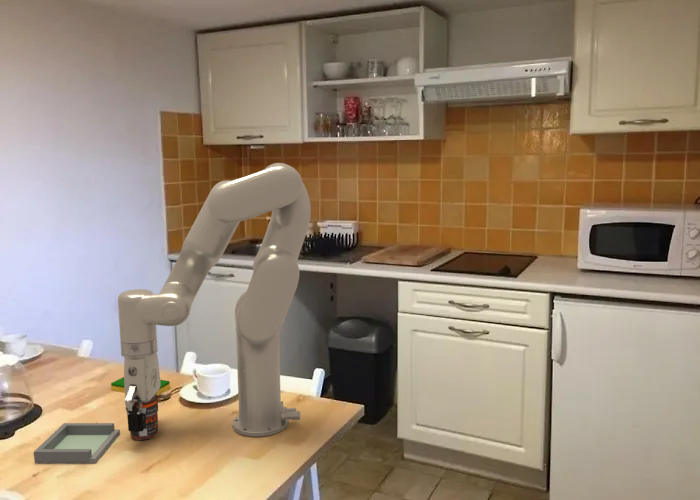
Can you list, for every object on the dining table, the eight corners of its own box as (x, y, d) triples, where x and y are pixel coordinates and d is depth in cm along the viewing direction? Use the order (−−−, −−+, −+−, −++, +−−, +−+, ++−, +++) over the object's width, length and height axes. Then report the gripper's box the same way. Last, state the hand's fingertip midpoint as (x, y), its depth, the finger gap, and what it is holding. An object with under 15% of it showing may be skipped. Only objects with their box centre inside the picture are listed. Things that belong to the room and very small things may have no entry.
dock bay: (120, 433, 142) (119, 423, 141) (95, 463, 128) (94, 451, 128) (64, 433, 142) (63, 423, 141) (34, 463, 128) (33, 451, 128)
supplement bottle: (150, 442, 137) (147, 392, 135) (125, 440, 138) (122, 390, 137) (163, 430, 143) (160, 382, 141) (139, 428, 144) (136, 380, 142)
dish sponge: (129, 382, 173) (128, 374, 173) (171, 389, 168) (170, 380, 168) (110, 391, 167) (110, 383, 167) (153, 399, 162) (152, 390, 161)
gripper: (143, 360, 129) (148, 438, 132) (168, 334, 146) (172, 405, 149) (106, 360, 129) (112, 438, 132) (135, 334, 146) (140, 405, 149)
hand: (143, 421), depth 140 cm, fingers open, 9 cm apart
